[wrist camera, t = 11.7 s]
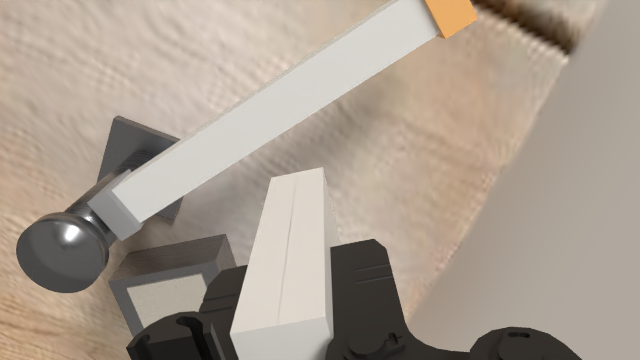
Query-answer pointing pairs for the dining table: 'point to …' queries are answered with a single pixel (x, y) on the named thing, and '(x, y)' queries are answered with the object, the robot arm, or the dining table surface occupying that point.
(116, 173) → the post
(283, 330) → the robot arm
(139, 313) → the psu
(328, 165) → the dining table surface
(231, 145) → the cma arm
